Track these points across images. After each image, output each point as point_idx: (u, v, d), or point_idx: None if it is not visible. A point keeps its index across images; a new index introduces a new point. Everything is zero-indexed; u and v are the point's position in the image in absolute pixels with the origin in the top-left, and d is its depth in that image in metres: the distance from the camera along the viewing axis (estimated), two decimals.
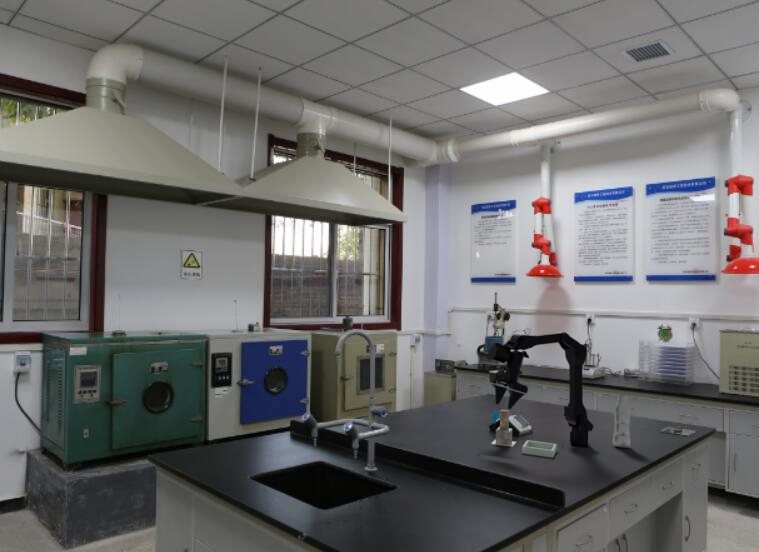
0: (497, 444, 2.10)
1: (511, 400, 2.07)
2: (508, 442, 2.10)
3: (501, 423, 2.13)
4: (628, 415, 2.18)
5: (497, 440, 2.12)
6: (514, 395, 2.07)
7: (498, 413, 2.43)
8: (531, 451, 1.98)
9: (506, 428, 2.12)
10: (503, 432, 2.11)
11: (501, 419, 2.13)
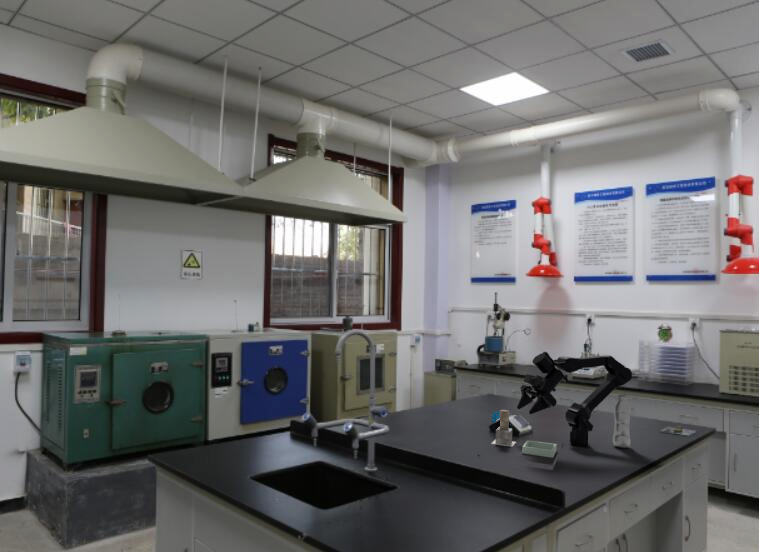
0: (497, 444, 2.10)
1: (536, 406, 2.11)
2: (508, 442, 2.10)
3: (501, 423, 2.13)
4: (628, 415, 2.18)
5: (497, 440, 2.12)
6: (540, 403, 2.11)
7: (498, 413, 2.44)
8: (531, 451, 1.98)
9: (506, 428, 2.12)
10: (503, 432, 2.11)
11: (501, 419, 2.13)
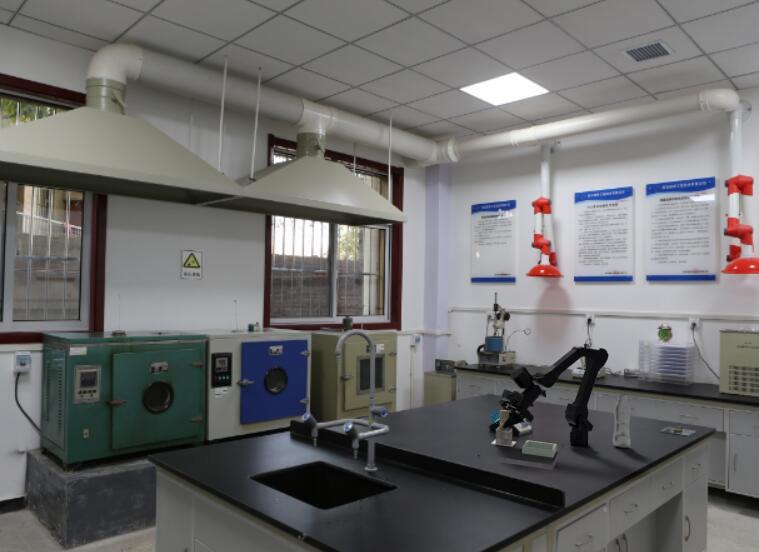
0: (497, 444, 2.10)
1: (509, 421, 2.11)
2: (508, 442, 2.10)
3: (501, 423, 2.13)
4: (628, 415, 2.18)
5: (497, 440, 2.12)
6: (514, 418, 2.11)
7: (498, 413, 2.44)
8: (531, 451, 1.98)
9: (506, 428, 2.12)
10: (503, 432, 2.11)
11: (501, 419, 2.13)
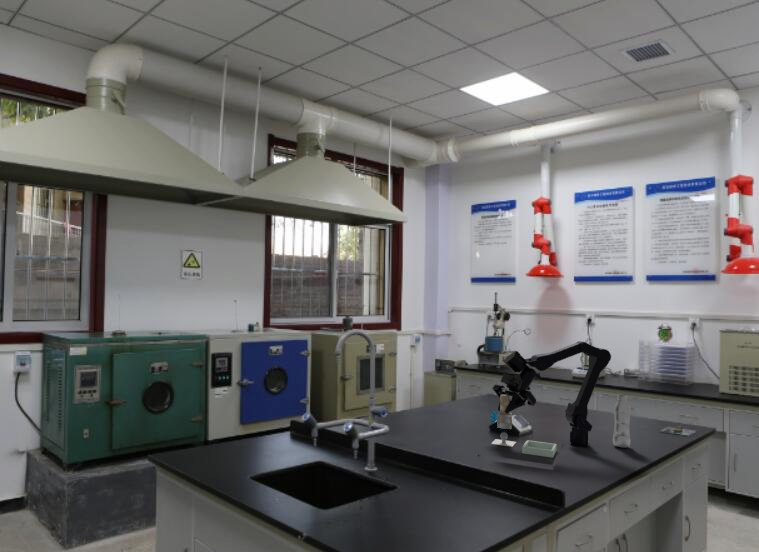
0: (497, 444, 2.10)
1: (511, 405, 2.12)
2: (510, 426, 2.11)
3: (502, 408, 2.13)
4: (628, 415, 2.18)
5: (499, 425, 2.11)
6: (515, 402, 2.13)
7: None
8: (531, 451, 1.98)
9: None
10: (505, 417, 2.11)
11: (502, 404, 2.13)
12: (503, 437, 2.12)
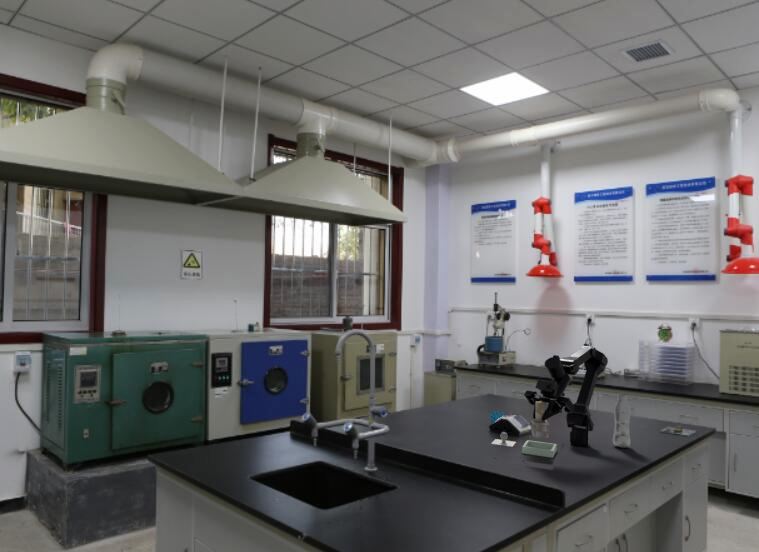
0: (497, 444, 2.10)
1: (548, 412, 2.01)
2: (547, 435, 2.00)
3: (538, 415, 2.01)
4: (628, 415, 2.18)
5: (535, 434, 2.00)
6: (551, 409, 2.02)
7: (498, 413, 2.44)
8: (531, 451, 1.98)
9: None
10: (542, 425, 2.00)
11: (538, 411, 2.02)
12: (503, 437, 2.12)
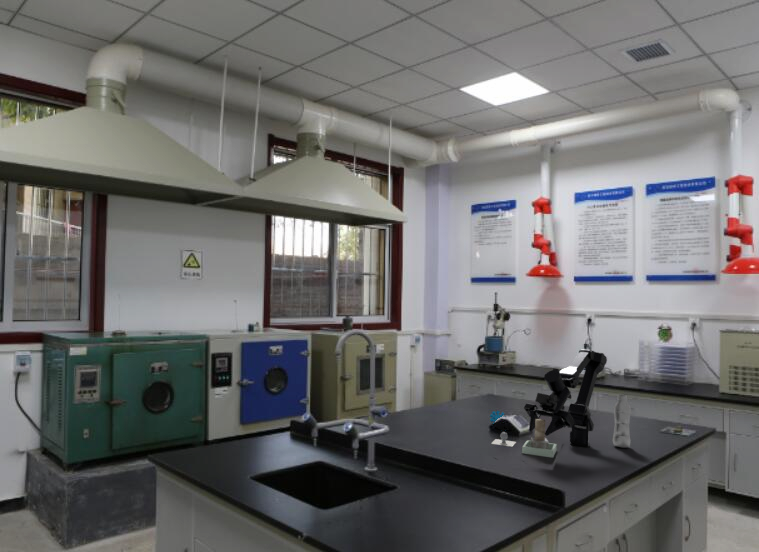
0: (497, 444, 2.10)
1: (552, 427, 1.99)
2: None
3: (538, 433, 2.01)
4: (628, 415, 2.18)
5: None
6: (555, 423, 2.00)
7: (497, 412, 2.45)
8: (531, 451, 1.98)
9: (543, 438, 2.01)
10: (541, 443, 2.00)
11: (538, 429, 2.01)
12: (503, 437, 2.12)
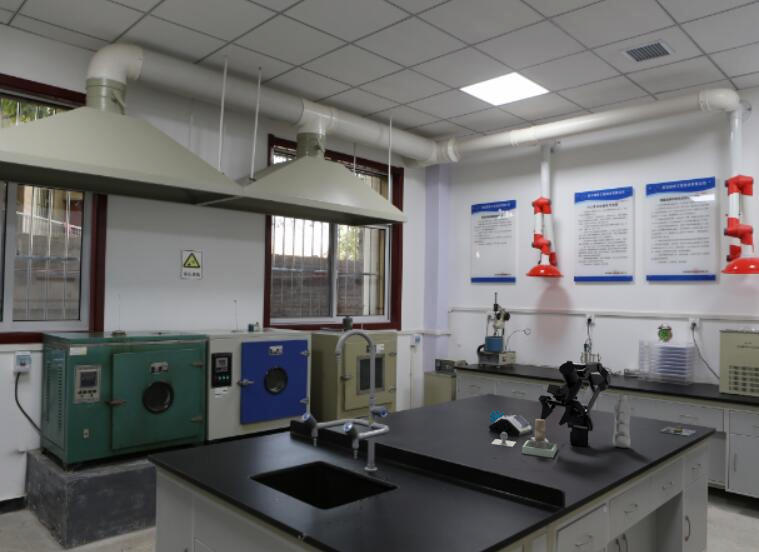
0: (497, 444, 2.10)
1: (565, 417, 2.05)
2: None
3: (538, 433, 2.01)
4: (628, 415, 2.18)
5: None
6: (569, 413, 2.06)
7: (497, 412, 2.45)
8: (531, 451, 1.98)
9: (543, 438, 2.01)
10: (541, 443, 2.00)
11: (538, 429, 2.01)
12: (503, 437, 2.12)
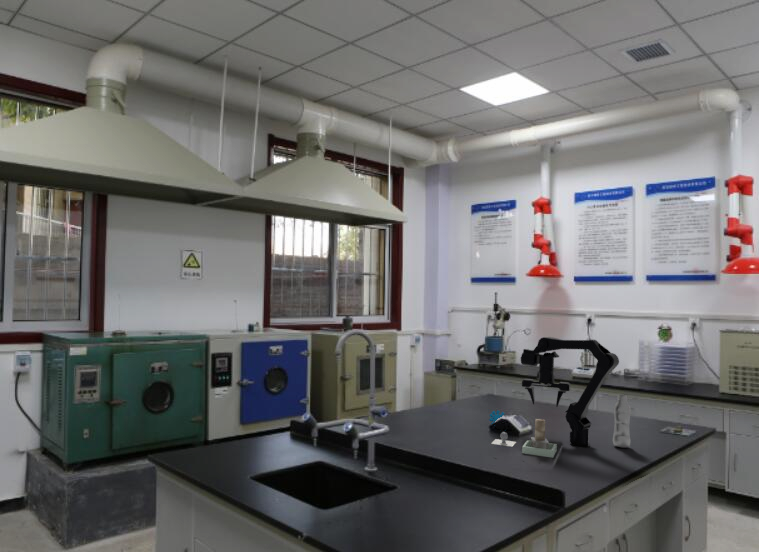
0: (497, 444, 2.10)
1: None
2: None
3: (538, 433, 2.01)
4: (628, 415, 2.18)
5: None
6: None
7: (497, 412, 2.45)
8: (531, 451, 1.98)
9: (543, 438, 2.01)
10: (541, 443, 2.00)
11: (538, 429, 2.01)
12: (503, 437, 2.12)
